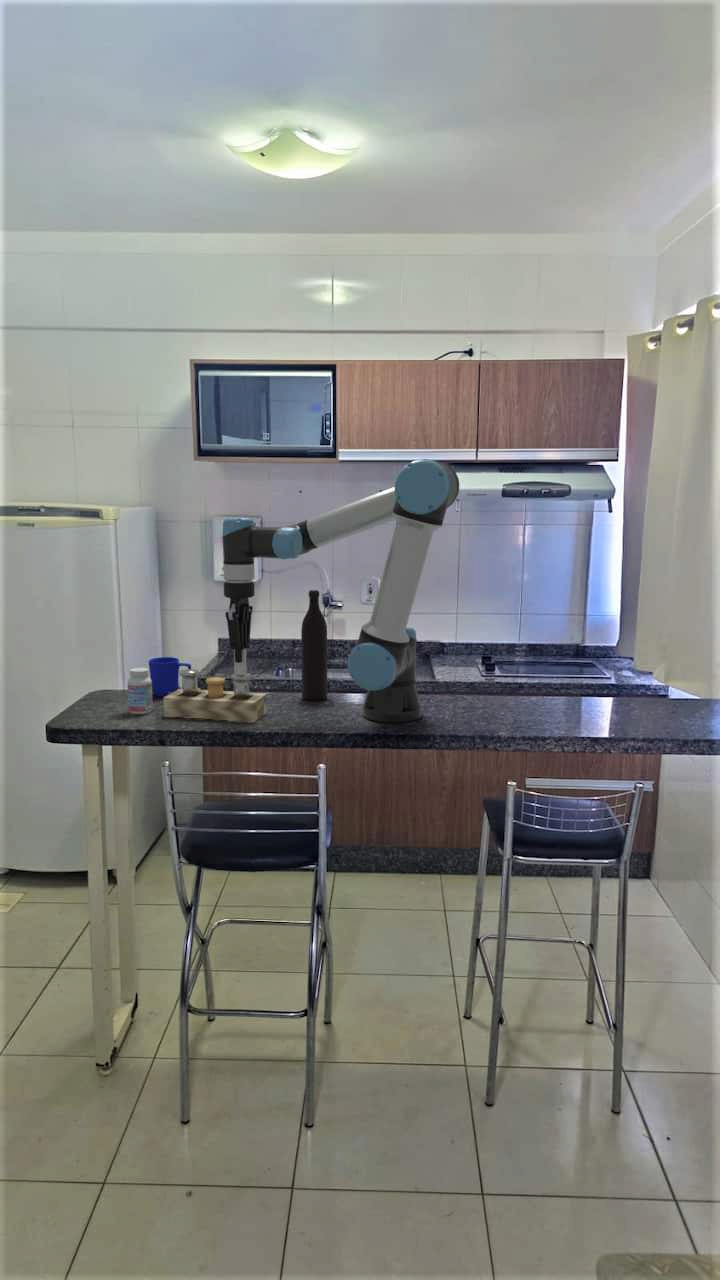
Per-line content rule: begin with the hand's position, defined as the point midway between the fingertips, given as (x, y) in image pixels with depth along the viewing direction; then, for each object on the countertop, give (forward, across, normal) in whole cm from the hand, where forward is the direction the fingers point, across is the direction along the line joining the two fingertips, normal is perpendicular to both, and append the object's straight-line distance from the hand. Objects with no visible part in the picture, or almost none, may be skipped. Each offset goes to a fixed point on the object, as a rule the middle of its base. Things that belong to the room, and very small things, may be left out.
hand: (240, 674), depth 201 cm
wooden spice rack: (+11, 0, -7) cm, 13 cm away
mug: (+11, -16, -27) cm, 33 cm away
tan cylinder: (+8, 0, -7) cm, 11 cm away
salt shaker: (+7, 0, -14) cm, 15 cm away
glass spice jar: (+7, 0, 0) cm, 7 cm away
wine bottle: (+11, -22, +13) cm, 28 cm away
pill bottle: (+11, +2, -27) cm, 29 cm away
